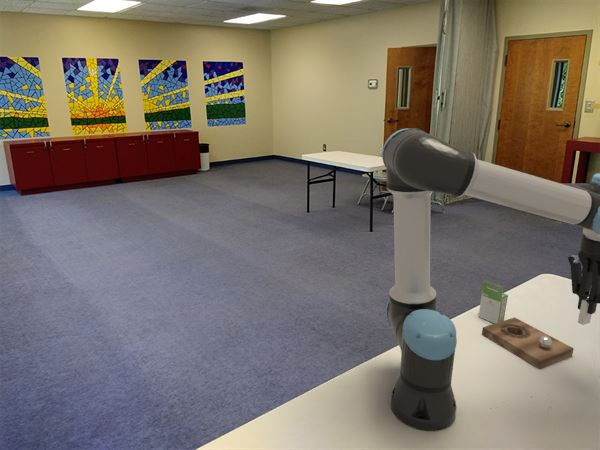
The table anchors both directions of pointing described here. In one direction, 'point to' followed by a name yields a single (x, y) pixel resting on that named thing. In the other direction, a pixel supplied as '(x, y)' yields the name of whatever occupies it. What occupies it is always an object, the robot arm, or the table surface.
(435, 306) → the robot arm
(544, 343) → the ball
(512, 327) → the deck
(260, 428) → the table surface
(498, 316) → the ink box
